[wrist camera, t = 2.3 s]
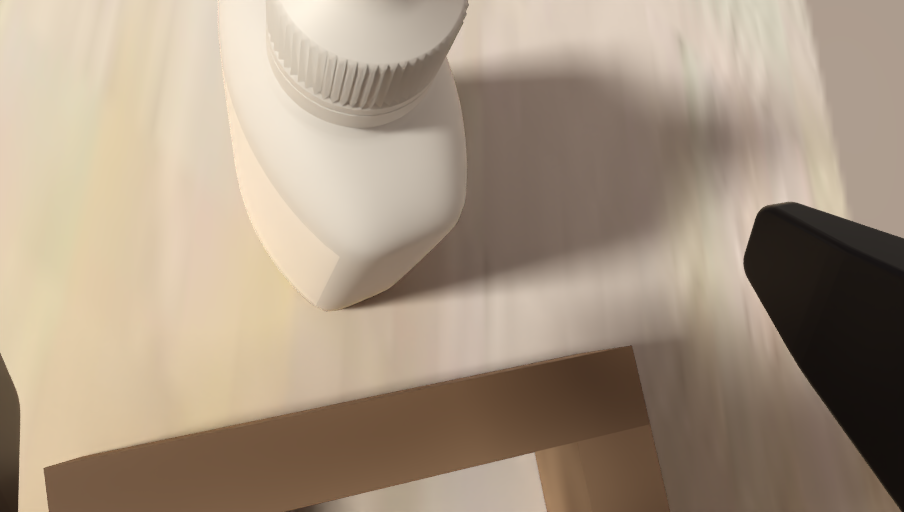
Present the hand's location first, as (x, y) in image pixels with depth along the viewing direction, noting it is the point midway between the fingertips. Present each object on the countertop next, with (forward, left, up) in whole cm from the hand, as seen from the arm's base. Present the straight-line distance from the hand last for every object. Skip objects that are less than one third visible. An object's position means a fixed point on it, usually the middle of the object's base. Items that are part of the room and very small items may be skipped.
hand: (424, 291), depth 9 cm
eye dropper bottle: (+3, -2, -10) cm, 11 cm away
